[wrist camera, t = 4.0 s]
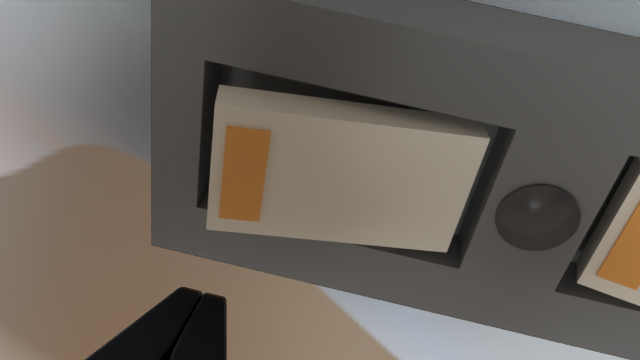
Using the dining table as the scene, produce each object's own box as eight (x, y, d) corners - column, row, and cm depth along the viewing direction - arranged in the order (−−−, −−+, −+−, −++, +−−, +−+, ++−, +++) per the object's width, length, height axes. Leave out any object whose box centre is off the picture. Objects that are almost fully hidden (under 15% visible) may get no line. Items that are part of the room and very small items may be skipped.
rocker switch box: (981, 111, 14) (1101, 179, 12) (783, 328, 19) (838, 412, 16) (197, -58, 15) (149, -29, 13) (187, 189, 20) (150, 247, 17)
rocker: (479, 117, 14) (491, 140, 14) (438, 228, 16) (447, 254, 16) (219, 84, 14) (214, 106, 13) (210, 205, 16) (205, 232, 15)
